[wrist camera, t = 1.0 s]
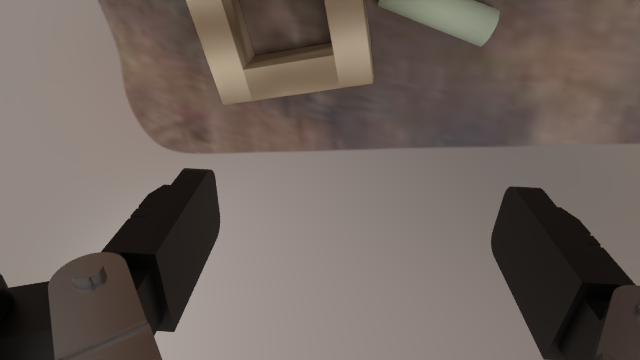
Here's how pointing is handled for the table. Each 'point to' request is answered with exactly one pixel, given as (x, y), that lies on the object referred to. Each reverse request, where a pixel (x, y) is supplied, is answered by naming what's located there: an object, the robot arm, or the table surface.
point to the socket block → (283, 53)
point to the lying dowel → (449, 16)
